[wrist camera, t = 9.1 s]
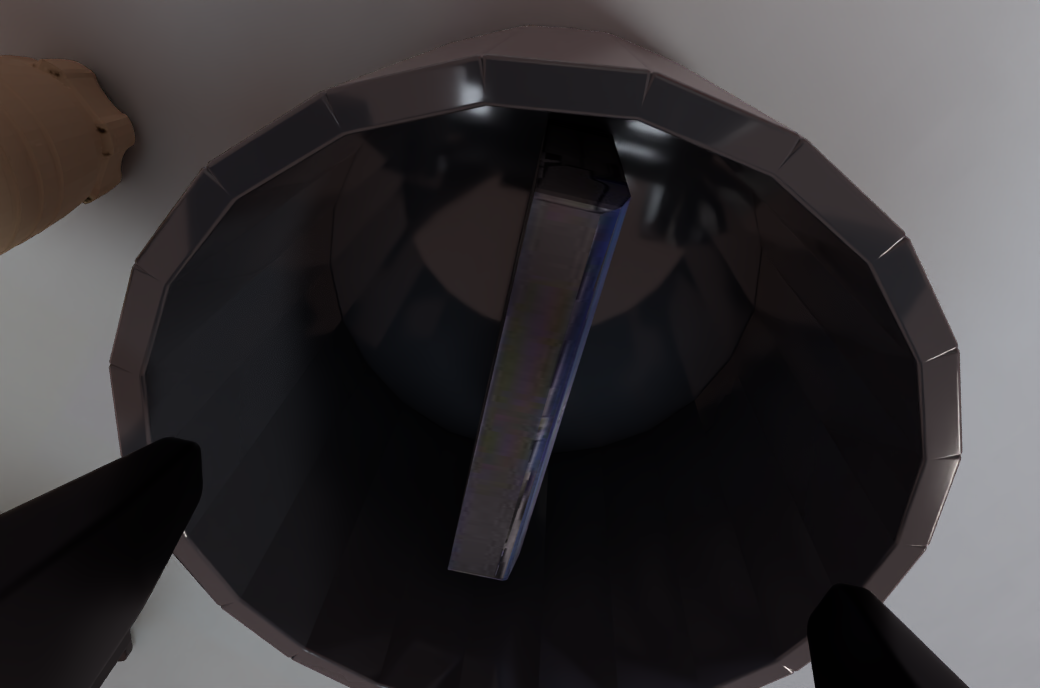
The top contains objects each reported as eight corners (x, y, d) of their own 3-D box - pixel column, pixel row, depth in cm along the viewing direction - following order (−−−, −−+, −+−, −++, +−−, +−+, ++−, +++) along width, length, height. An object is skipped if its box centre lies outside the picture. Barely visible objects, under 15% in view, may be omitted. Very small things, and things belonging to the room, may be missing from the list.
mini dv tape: (532, 415, 18) (518, 586, 13) (482, 404, 18) (447, 571, 13) (612, 133, 14) (638, 213, 9) (547, 117, 14) (535, 189, 9)
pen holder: (309, 405, 19) (147, 660, 12) (338, -39, 13) (44, -87, 6) (677, 487, 20) (741, 779, 12) (863, 98, 14) (1203, 213, 6)
